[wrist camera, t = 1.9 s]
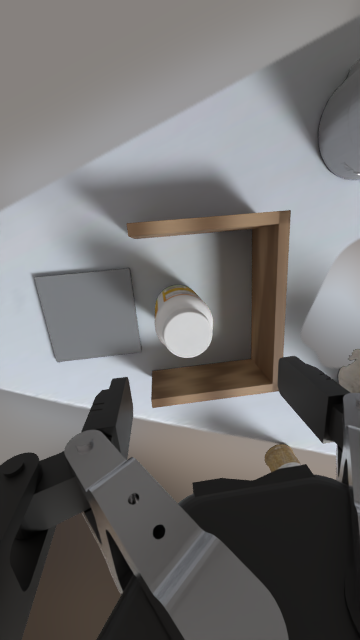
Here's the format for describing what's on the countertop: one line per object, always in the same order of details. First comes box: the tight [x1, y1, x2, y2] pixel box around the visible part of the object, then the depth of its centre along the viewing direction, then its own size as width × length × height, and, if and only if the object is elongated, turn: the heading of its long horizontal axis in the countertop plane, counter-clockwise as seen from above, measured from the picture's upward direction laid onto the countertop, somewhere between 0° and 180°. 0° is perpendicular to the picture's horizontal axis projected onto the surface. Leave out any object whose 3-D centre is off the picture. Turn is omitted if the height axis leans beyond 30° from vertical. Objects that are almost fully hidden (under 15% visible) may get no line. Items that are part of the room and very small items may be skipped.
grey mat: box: [34, 268, 142, 362], centre depth 27 cm, size 10×10×1 cm
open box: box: [127, 210, 291, 408], centre depth 25 cm, size 14×18×6 cm
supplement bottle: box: [155, 285, 213, 358], centre depth 23 cm, size 5×5×10 cm
